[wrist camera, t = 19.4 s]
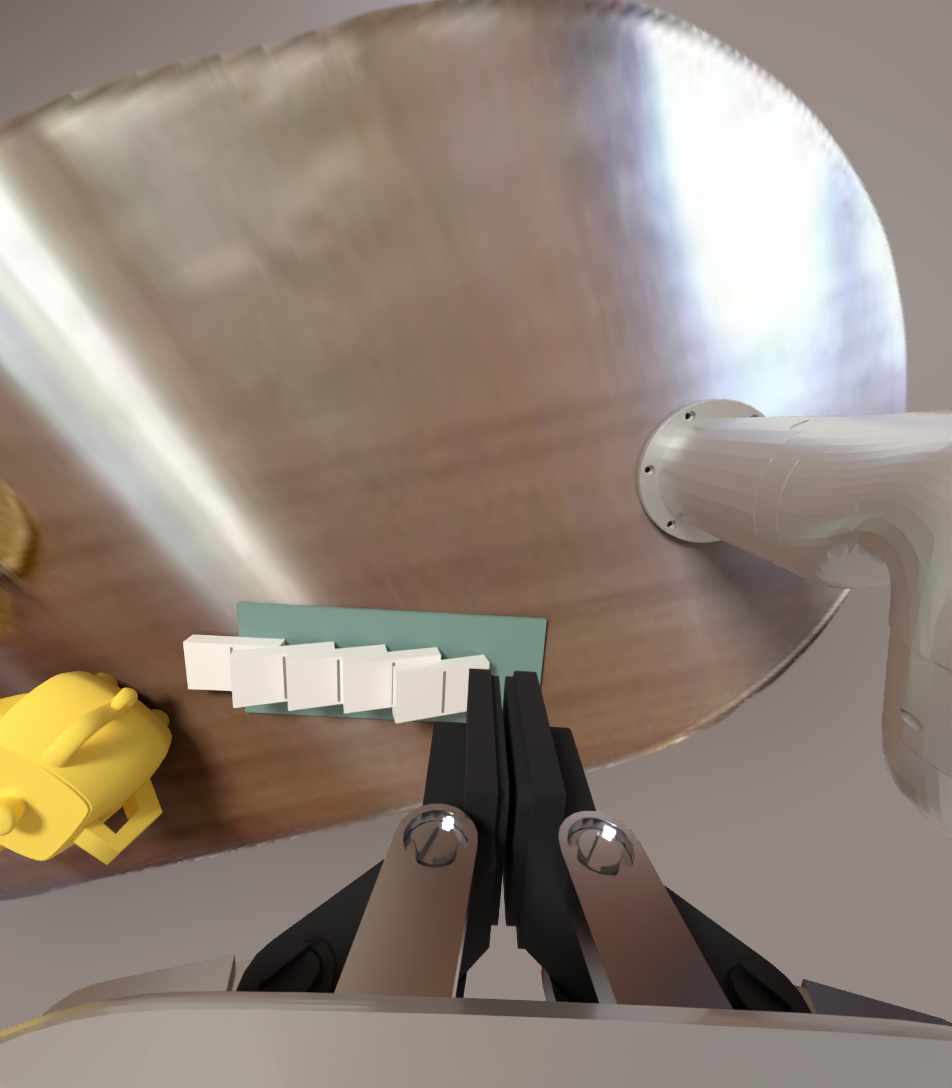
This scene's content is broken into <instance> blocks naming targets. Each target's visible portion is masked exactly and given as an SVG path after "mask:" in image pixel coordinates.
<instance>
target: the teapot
mask: <svg viewBox="0 0 952 1088" xmlns="http://www.w3.org/2000/svg"><path fill="white" fill-rule="evenodd" d="M169 722H170V721H169V717H168V715H167V714H166V713H165V712H163V711H161V710H158V709H152V710H150V709H149V708H148V707H147V706H145V705H144V704H143V703H142V702H141V701H139V700H138V694H137V692H136V691H135V690H134V689H132V688H123V689H121V688H120V687H118V682H117V680H116V679H115V678H114V677H113V676H112V675H110V674H108V673H98V674H96V675H94V674H92V673H89V672H86V671H73V672H68V673H63V674H59V675H56V676H54V677H52V678H50V679H49V680H47V681H45V682H44V683H42V684H41V685H39V686H38V687H36V688H35V689H34V690H32V691H31V692H30V693H24V694H20V695H15V696H11V697H6V698H2V699H0V851H2V850H3V849H4V848H5V847H6V848H8V849H10V850H12V851H14V852H17V853H19V854H21V855H23V856H26V857H28V858H31V859H35V860H40V861H43V860H48V859H50V858H52V857H54V856H56V855H57V854H59V853H61V852H62V851H64V850H66V849H67V848H69V847H70V846H72V845H73V844H76V845H78V846H79V847H81V848H82V849H84V850H85V851H87V852H88V853H90V854H91V855H93V856H94V857H96V858H97V859H99V860H100V861H102V862H103V863H105V864H106V865H107V864H109V863H110V862H111V861H112V860H113V859H114V858H115V857H116V856H117V855H118V854H119V853H120V852H121V851H123V850H124V849H125V848H126V847H127V846H128V845H129V844H130V843H131V842H132V841H133V840H134V839H136V838H137V837H138V836H139V835H140V834H141V833H142V832H143V831H144V830H145V829H146V828H147V827H149V826H150V825H151V824H152V823H153V822H154V821H155V820H156V819H157V818H158V817H159V816H160V815H161V814H162V813H163V812H162V809H161V806H160V804H159V801H158V798H157V796H156V793H155V790H154V788H153V785H152V782H151V780H150V778H151V776H152V775H153V774H154V772H155V771H156V770H157V768H158V767H159V765H160V764H161V762H162V761H163V759H164V758H165V756H166V755H167V752H168V750H169V747H170V744H171V740H172V734H171V732H170V730H169V728H168V726H169ZM122 806H123V808H124V811H125V813H126V816H127V818H128V822H127V823H126V824H125V825H124V826H123V827H122V828H121V829H120V830H119V831H118V832H117V833H116V834H115V833H114V832H113V831H112V830H111V829H109V828H108V827H107V826H106V825H105V824H104V822H105V821H106V820H107V819H108V818H110V817H111V816H112V815H113V814H114V813H115V812H117V811H118V810H119V809H120V808H121V807H122Z"/></svg>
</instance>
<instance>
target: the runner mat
mask: <svg viewBox="0 0 952 1088" xmlns="http://www.w3.org/2000/svg"><path fill="white" fill-rule="evenodd" d="M237 610H238V623H239V635H240V637H251V638H272V639H285V642H286V646H288V645H299V644H310V643H321V642H332V641H334V647H335V649H340V648H350V647H361V646H371V645H382V644H385V646H386V649H387V652H392V651H402V650H412V649H422V648H432V647H437V648H438V650H439V652H440V654H441V660H445V659H453V658H460V657H468V656H476V655H484V656H485V657H486V658H487V660H488V661H489V662H490V663H489V669H491V675H495V676H499V680H500V691H501V702H502V709H503V697H504V684H505V677H506V676H513V673H514V671H531V672H536V673H537V676H538V680H539V684H540V681H541V672H542V662H543V652H544V643H545V633H546V624H547V619H546V618H530V617H511V616H493V615H474V614H455V613H437V612H418V611H399V610H380V609H362V608H343V607H324V606H306V605H287V604H268V603H250V602H238V603H237ZM245 712H251V713H271V714H291V715H311V716H331V717H351V718H371V719H391V720H394V717H393V714H392V707H389V708H382V709H374V710H367V711H360V712H352V713H345V714H344V708H343V704H337V705H330V706H322V707H314V708H307V709H299V710H292V711H288V701H285V702H277V703H269V704H261V705H253V706H245ZM466 712H467V711H465V712H459V713H454V714H448V715H442V716H436V717H430V718H425V719H419V720H413V721H431V722H435V721H442V722H462V723H466Z"/></svg>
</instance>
